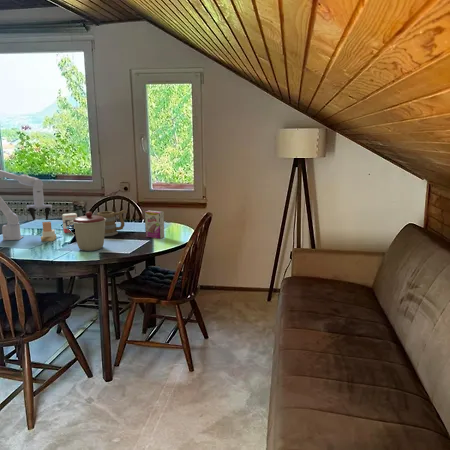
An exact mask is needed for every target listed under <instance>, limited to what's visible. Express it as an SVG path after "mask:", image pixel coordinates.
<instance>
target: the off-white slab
mask: <svg viewBox="0 0 450 450" xmlns="http://www.w3.org/2000/svg"><path fill="white" fill-rule="evenodd" d="M55 230H56V229H52V231H46V232H44V231H43V230H42V232H41V234H42V236H43V237H52V236H54V235H55V234H56V232H55Z"/></svg>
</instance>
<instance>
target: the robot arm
mask: <svg viewBox="0 0 450 450" xmlns="http://www.w3.org/2000/svg"><path fill="white" fill-rule="evenodd" d="M2 178H6V179H9V180H14V181H17V182H18V183H19V184H20V185H24V186H28V187H32V196H33V204H27V205H26V209H27V210H28V212H29V213H30V216H31V218H32V221H35V220H36V214H35V211H36V210H35V209H44V214H45V220H46V221H47V220H49V215H50V211H51V209H52V208H53V205H52V204H45V196H44V190H43V189H44V188H43V187H44V182H43V181H42V179H40V178H38V177H35V176H30V175H27V173H26V174H20V175H18V174H15V173H11V172H8V171H5V170H1V169H0V179H2ZM0 211H1V212H2V214H3V215H4V217H5V219H6V221H7V223H6V224H3V225H2V228H1V234H2V241H20V240H21V239H22V238H24V236H23V235H22V234H21V233H22V232H21V225H20V219H19V217H18V215H17V214H16V213H15V212H14V211H12V209H11V208H10V207H9V206H8V204H7V203H6V202H5V200H4V199H3V198H2V196H1V195H0Z"/></svg>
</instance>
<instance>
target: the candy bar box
mask: <svg viewBox="0 0 450 450" xmlns="http://www.w3.org/2000/svg"><path fill="white" fill-rule="evenodd" d="M144 223H145V224H144V226H145V230H144V231H145V238H150V239H157V240H158V239H159V240H162V239H164V238H165V213H164V211H158V210H146V211H144Z"/></svg>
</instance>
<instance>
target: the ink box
mask: <svg viewBox="0 0 450 450" xmlns="http://www.w3.org/2000/svg"><path fill="white" fill-rule="evenodd" d="M61 217H62V219H61V220H62V227H63V228H62V229H63V233H65V234H68V233H72V232H71V231H70V230H69V229H67V228H66V227H67V226H69V225H73V222H72V220H74V219H75V218H77V217H78V214H77V213H76V212H69V213H63V214H62V215H61Z"/></svg>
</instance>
